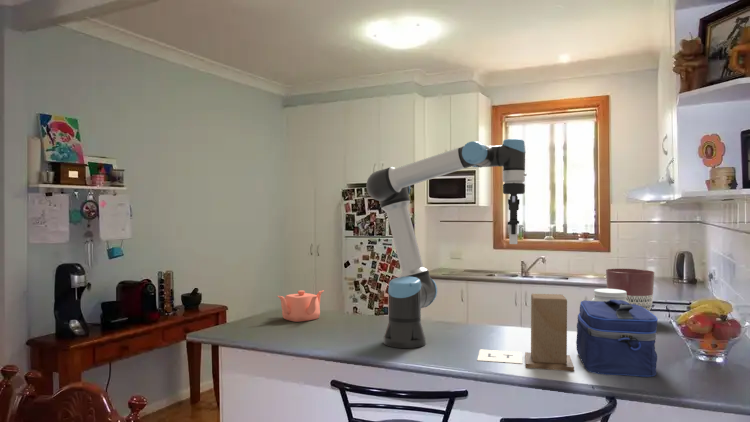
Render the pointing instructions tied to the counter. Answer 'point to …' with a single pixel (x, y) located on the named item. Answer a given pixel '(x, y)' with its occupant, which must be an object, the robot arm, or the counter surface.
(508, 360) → the tile
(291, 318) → the pot
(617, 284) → the planter
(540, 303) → the wooden block
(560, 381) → the counter surface
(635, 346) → the lunch bag
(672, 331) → the counter surface
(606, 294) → the supplement tub
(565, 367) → the board
